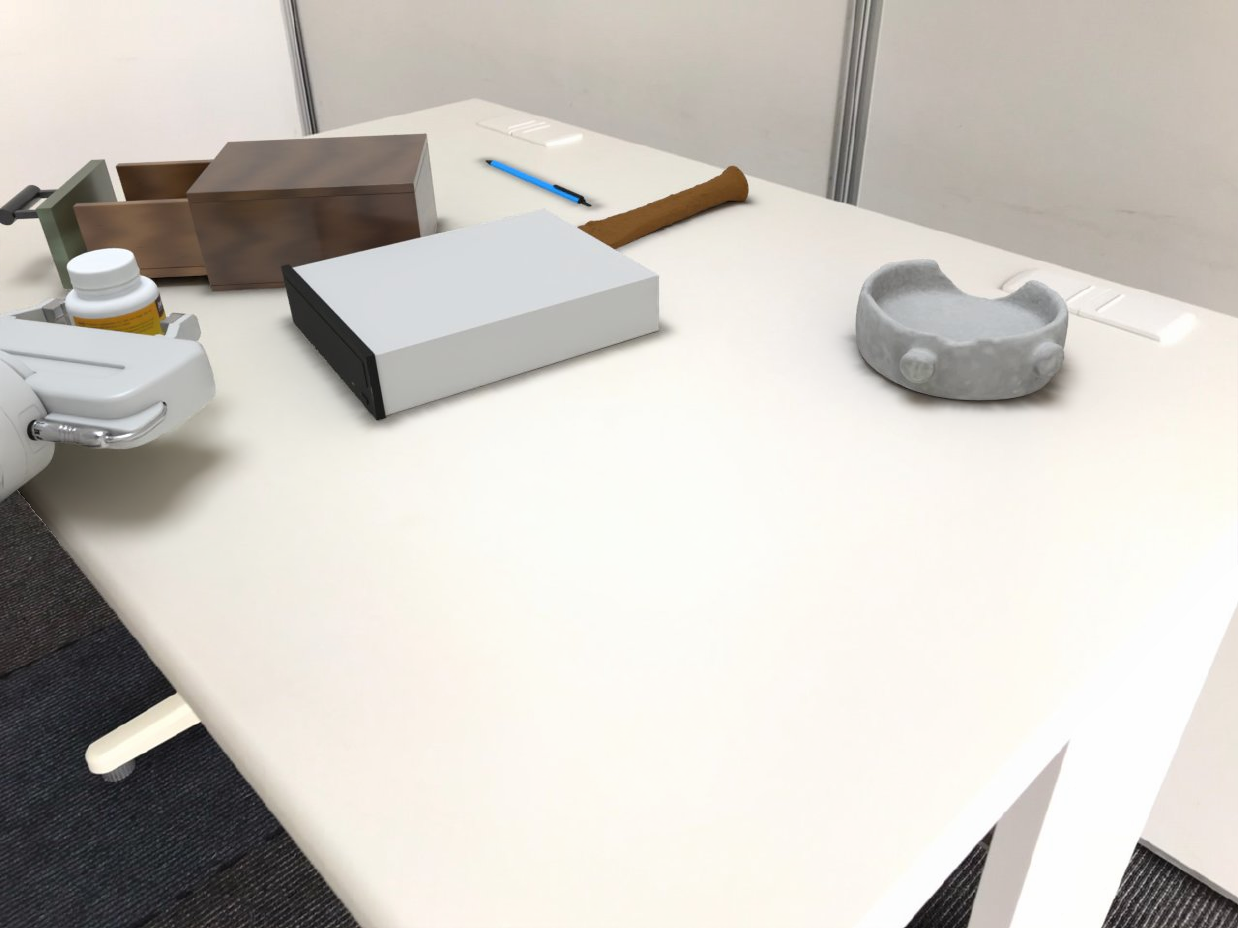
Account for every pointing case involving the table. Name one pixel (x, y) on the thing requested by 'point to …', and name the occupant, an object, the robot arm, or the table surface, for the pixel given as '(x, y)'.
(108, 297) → the supplement bottle
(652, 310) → the disc drive
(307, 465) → the table surface
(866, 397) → the table surface
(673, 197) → the primitive tool
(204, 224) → the cabinet
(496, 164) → the pen
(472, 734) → the table surface
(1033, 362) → the dish
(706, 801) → the table surface
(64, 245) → the drawer
